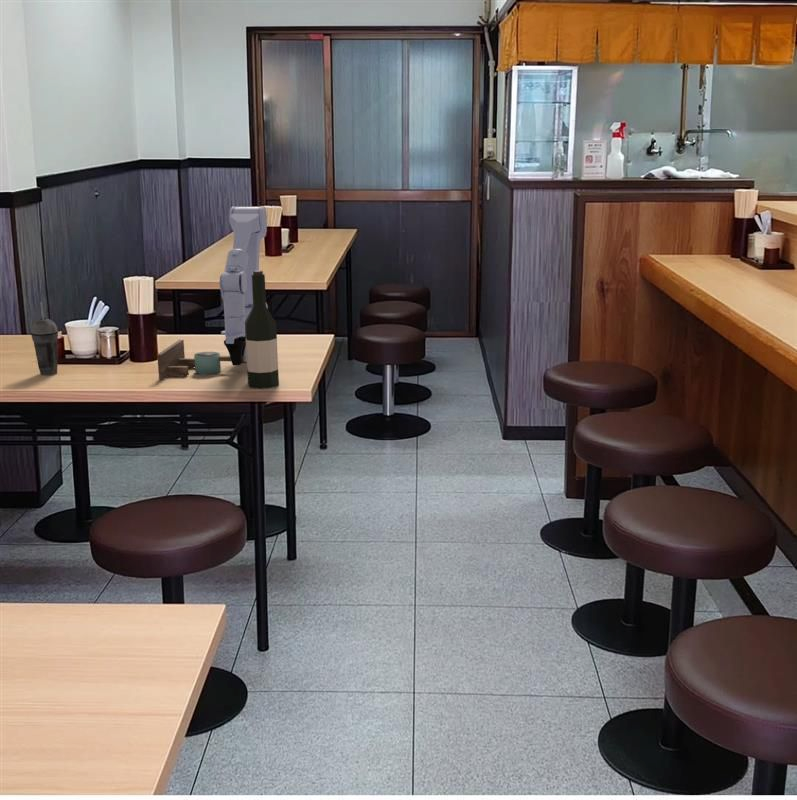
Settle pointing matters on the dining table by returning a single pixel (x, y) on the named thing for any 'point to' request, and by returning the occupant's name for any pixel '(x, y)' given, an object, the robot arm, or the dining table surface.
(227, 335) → the robot arm
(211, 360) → the pot
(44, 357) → the beverage cup
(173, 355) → the holder
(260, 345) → the wine bottle
